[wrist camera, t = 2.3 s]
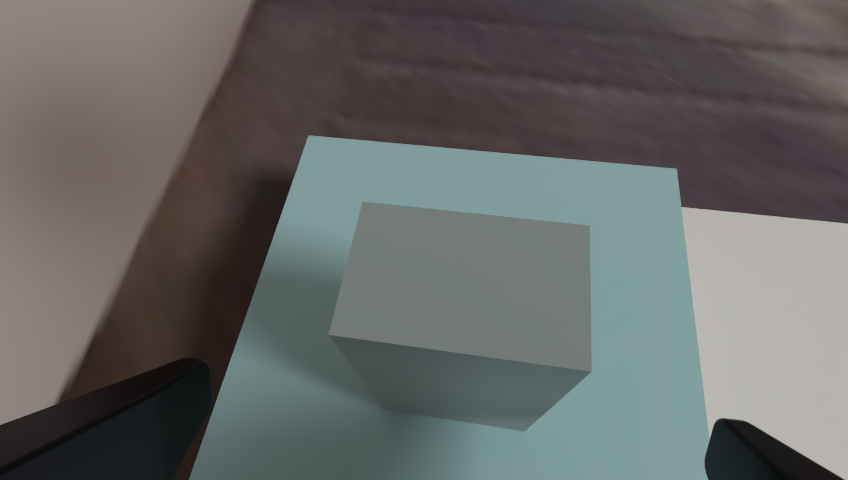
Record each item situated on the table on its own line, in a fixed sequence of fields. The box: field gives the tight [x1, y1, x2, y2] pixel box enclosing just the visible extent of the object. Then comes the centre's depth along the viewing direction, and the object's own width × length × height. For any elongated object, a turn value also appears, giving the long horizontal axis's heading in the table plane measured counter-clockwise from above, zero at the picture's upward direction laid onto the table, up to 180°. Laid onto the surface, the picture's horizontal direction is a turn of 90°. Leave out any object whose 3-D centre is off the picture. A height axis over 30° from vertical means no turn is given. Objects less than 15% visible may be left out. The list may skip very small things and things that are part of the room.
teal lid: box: [189, 136, 710, 480], centre depth 12 cm, size 17×14×10 cm
